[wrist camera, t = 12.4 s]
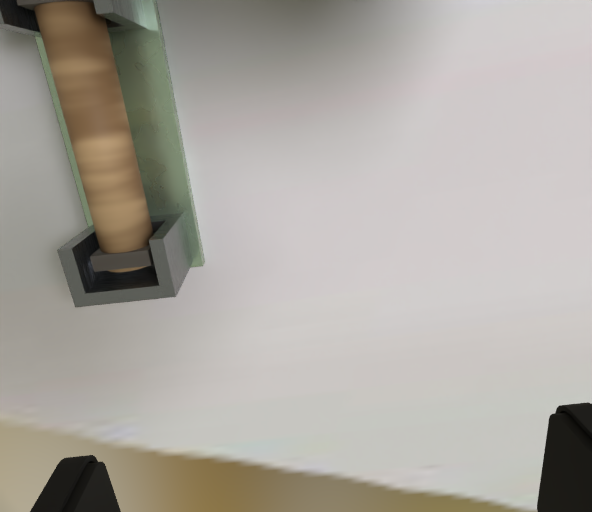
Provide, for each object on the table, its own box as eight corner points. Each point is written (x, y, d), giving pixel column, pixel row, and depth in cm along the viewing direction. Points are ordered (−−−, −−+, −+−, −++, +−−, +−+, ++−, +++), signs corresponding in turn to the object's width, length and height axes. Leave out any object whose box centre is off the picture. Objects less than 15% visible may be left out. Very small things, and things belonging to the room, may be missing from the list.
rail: (45, -9, 29) (9, -25, 25) (107, -16, 29) (81, -32, 25) (115, 255, 36) (95, 275, 32) (165, 250, 36) (152, 269, 32)
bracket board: (21, -36, 31) (-60, -77, 24) (146, -49, 31) (105, -94, 24) (106, 272, 40) (66, 314, 32) (204, 261, 40) (187, 301, 32)
